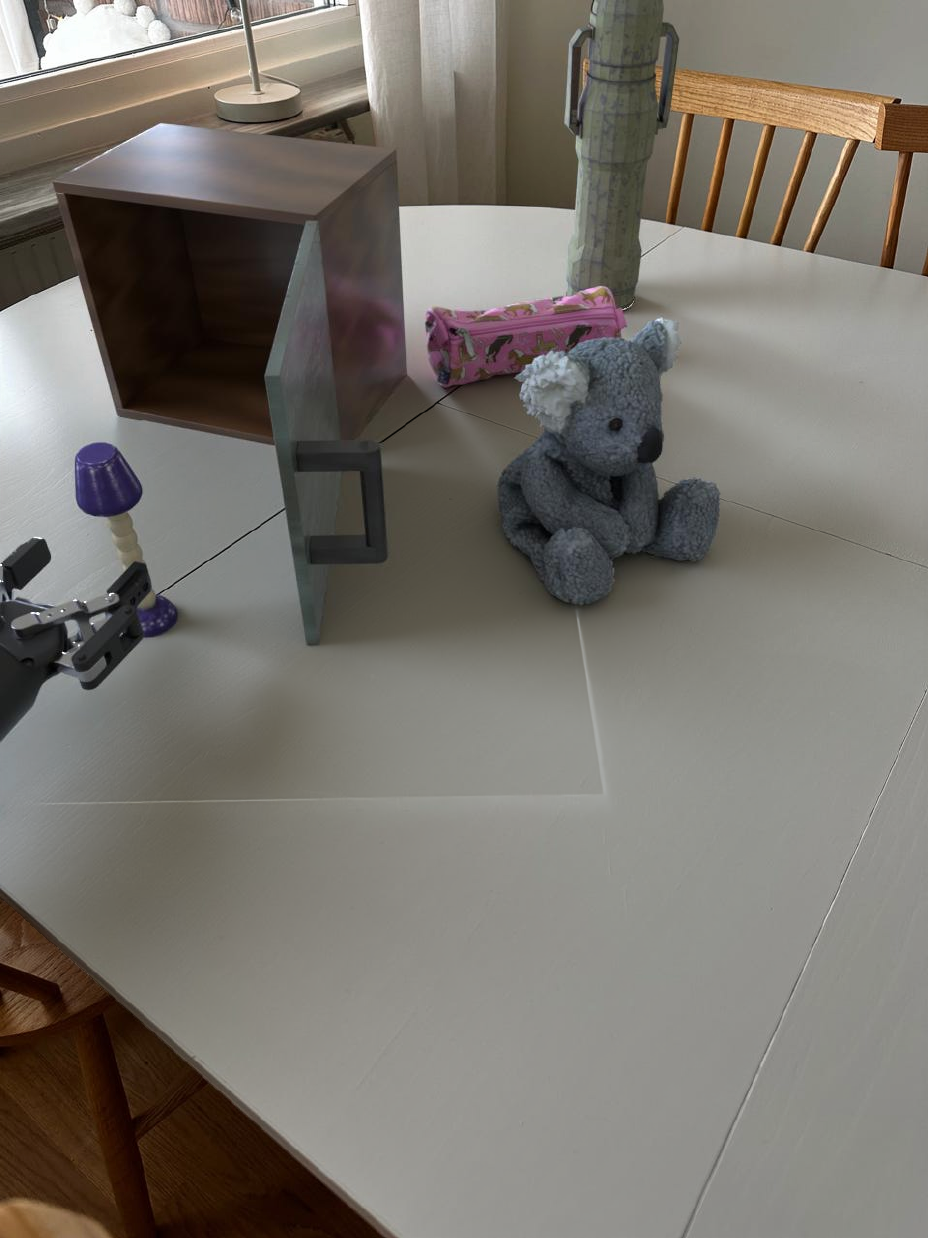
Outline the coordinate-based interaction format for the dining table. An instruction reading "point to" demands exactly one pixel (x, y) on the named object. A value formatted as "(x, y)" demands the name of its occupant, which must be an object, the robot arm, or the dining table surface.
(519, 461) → the koala plush
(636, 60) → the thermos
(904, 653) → the dining table surface
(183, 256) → the cupboard
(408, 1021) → the dining table surface
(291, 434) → the cupboard door
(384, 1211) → the dining table surface
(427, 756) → the dining table surface
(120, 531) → the toy lamp
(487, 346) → the pencil case
